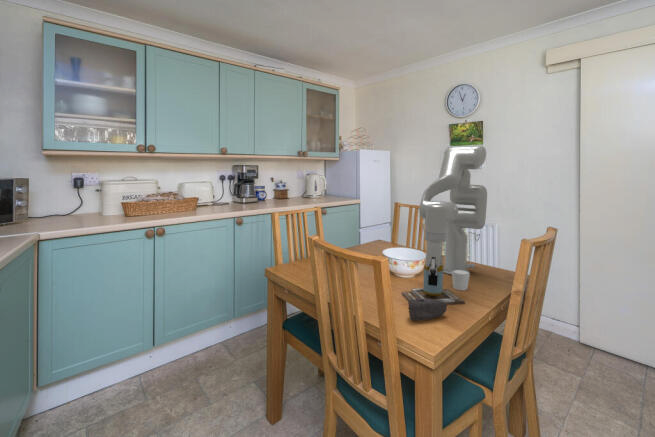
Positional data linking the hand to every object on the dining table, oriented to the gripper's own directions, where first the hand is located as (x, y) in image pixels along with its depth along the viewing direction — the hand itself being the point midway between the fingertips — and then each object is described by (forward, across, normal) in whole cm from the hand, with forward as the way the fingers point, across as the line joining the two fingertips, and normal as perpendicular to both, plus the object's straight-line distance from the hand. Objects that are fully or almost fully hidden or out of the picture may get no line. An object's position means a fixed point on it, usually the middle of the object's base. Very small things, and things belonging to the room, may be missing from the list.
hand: (433, 281), depth 121 cm
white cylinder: (+7, -16, +10) cm, 20 cm away
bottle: (+5, 0, 0) cm, 5 cm away
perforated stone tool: (+7, +18, -1) cm, 19 cm away
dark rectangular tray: (+7, 0, 0) cm, 7 cm away
